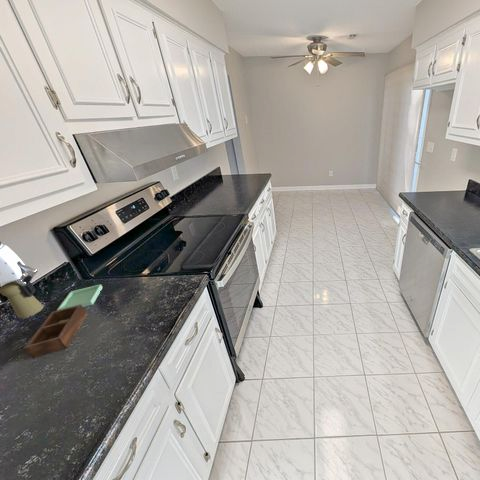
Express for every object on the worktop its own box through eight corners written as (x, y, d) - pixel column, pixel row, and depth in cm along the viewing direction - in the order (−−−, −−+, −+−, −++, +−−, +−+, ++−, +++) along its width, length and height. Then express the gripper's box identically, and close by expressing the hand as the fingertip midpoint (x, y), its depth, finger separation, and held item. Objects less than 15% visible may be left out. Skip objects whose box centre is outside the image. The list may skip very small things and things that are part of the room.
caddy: (33, 358, 82) (23, 348, 80) (58, 321, 97) (51, 311, 94) (67, 348, 85) (59, 338, 83) (87, 313, 99) (81, 304, 97)
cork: (41, 312, 80) (20, 285, 75) (14, 321, 77) (-10, 293, 72) (45, 302, 85) (26, 275, 80) (20, 309, 82) (-2, 282, 77)
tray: (59, 313, 101) (56, 309, 100) (72, 294, 111) (70, 291, 110) (92, 304, 104) (90, 301, 103) (102, 287, 114) (100, 284, 113)
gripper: (-77, 260, 64) (-27, 313, 73) (11, 245, 69) (48, 296, 78) (-52, 246, 70) (-9, 297, 79) (27, 234, 75) (59, 282, 84)
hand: (19, 296), depth 78 cm, fingers closed on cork, 5 cm apart
